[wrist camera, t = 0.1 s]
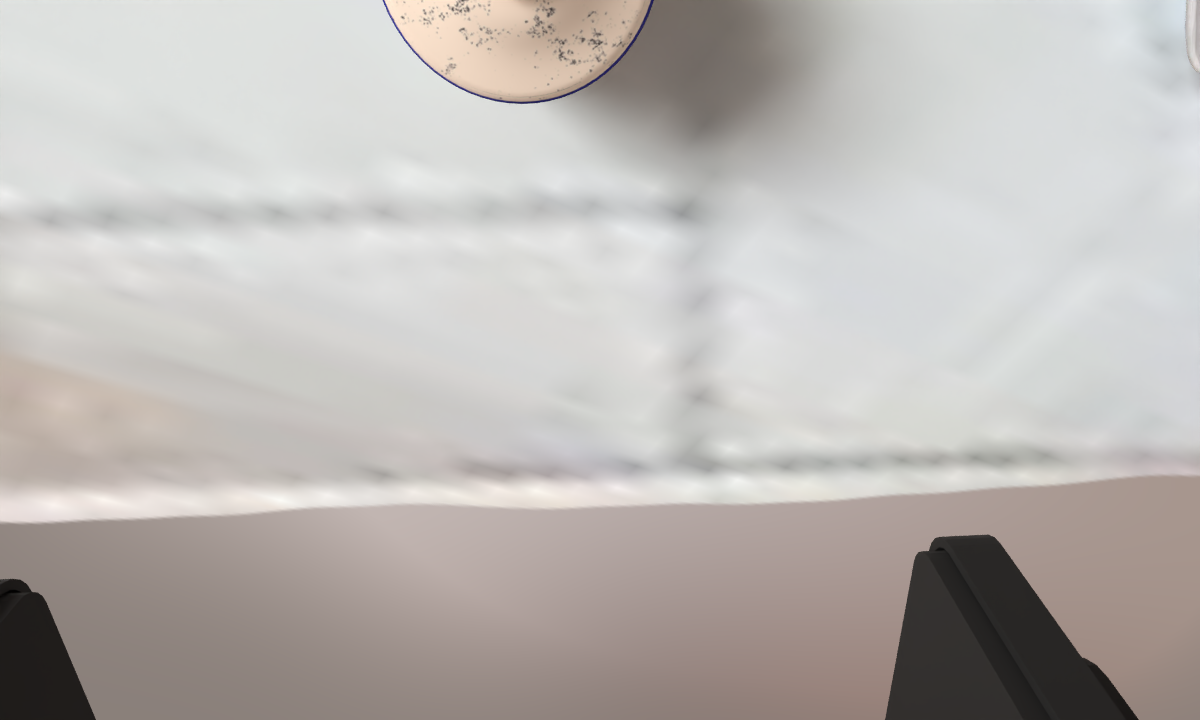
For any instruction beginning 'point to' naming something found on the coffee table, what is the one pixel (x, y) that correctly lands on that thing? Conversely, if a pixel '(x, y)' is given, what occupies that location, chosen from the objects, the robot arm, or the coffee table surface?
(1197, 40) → the salad plate
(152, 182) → the coffee table surface
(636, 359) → the coffee table surface
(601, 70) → the teacup with lid
